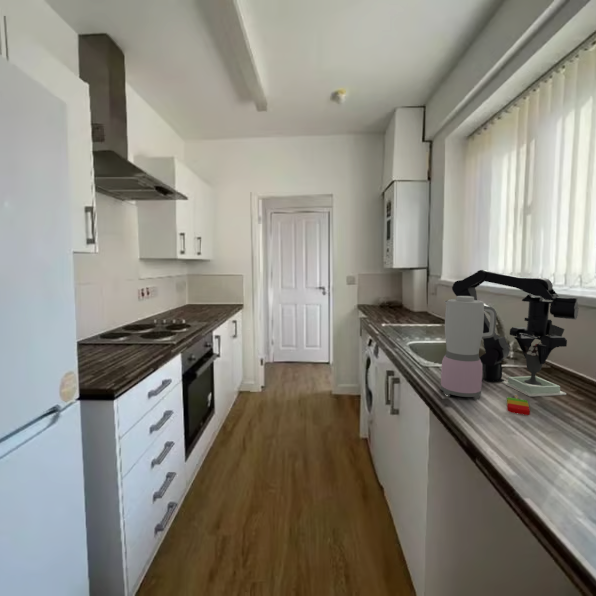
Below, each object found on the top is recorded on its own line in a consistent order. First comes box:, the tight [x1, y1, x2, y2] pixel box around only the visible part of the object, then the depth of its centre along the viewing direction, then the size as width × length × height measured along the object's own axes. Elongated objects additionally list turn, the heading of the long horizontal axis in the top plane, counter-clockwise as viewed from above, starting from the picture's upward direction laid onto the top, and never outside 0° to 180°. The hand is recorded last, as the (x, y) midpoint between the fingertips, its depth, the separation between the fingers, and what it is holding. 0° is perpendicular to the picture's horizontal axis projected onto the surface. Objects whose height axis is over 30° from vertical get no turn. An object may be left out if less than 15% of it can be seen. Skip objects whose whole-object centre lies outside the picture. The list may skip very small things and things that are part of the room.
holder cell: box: [501, 375, 567, 397], centre depth 123 cm, size 13×13×2 cm
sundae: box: [522, 342, 543, 385], centre depth 122 cm, size 7×7×15 cm
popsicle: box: [506, 394, 531, 416], centre depth 109 cm, size 6×15×2 cm, turn 151°
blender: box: [439, 296, 497, 401], centre depth 116 cm, size 16×12×32 cm
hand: (534, 361), depth 122 cm, fingers closed on sundae, 6 cm apart
